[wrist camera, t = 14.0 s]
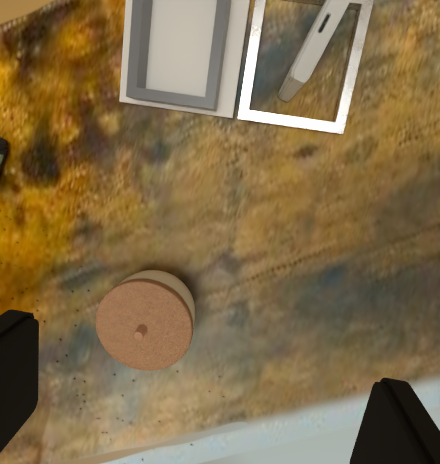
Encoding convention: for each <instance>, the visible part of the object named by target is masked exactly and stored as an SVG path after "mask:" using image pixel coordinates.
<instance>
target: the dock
mask: <svg viewBox="0 0 440 464" xmlns="http://www.w3.org/2000/svg"><path fill="white" fill-rule="evenodd" d="M249 6H250V0H126V7H125V22H124V38H123V53H122V69H121V84H120V100H119V101H120V102H123V103H130V104H136V105H143V106H150V107H157V108H164V109H171V110H178V111H184V112H191V113H198V114H205V115H212V116H219V117H225V118H232V119H233V115H234V108H235V101H236V94H237V87H238V81H239V74H240V67H241V60H242V53H243V46H244V40H245V33H246V26H247V19H248V12H249Z"/></svg>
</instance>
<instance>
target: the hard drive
mask: <svg viewBox="0 0 440 464" xmlns="http://www.w3.org/2000/svg"><path fill="white" fill-rule="evenodd" d="M350 1H351V0H326V1H325V3H324V5H323V7H322V8H321V10H320V12H319V14H318V16H317V18H316V19H315V21H314V23H313V25H312V27H311V29H310V31H309V33H308V34H307V36H306V38H305V40H304V42H303V44H302V46H301V48H300V50H299V52H298V54H297V56H296V58H295V60H294V62H293V64H292V66H291V68H290V70H289V72H288V74H287V76H286V78H285V80H284V82H283V84H282V86H281V88H280V90H279V92H278V98H280V99H281V100H284V101H285V102H288V101H290V99H291V98H292V97H293V96H294V95H295V94H296V93H297V92H298V90H299V89H300V88H301V87H302V86H303V85H304V84H305V82H306V81H307V80H308V79H309V78H310V76H311V74H312V72H313V71H314V69H315V67H316V65H317V63H318V61H319V59H320V57H321V56H322V54H323V52H324V50H325V48H326V46H327V44H328V42H329V40H330V38H331V37H332V35H333V33H334V31H335V29H336V27H337V25H338V23H339V22H340V20H341V18H342V16H343V14H344V12H345V10H346V8H347V7H348V5H349V3H350Z"/></svg>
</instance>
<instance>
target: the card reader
mask: <svg viewBox="0 0 440 464" xmlns="http://www.w3.org/2000/svg"><path fill="white" fill-rule="evenodd" d="M6 146H7V142H6V141H5V140H4V139H2V138H0V169H1V166H2V164H3V161H4V158H5V156H6V153H7V148H6Z"/></svg>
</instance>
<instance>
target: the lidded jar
mask: <svg viewBox="0 0 440 464" xmlns="http://www.w3.org/2000/svg"><path fill="white" fill-rule="evenodd" d="M194 325H195V305H194V301H193V297H192V295H191V293H190V291H189V290H188V288H187V287H186V285H185V284H184V283H183V282H182V281H181V280H180V279H178V278H177V277H176V276H174V275H172V274H170V273H168V272H164V271H159V270H145V271H141V272H138V273H135V274H132V275H131V276H129V277H127V278H125V279H124V280H122V281H121V282H120V283H119V284H118V285H116V286H115V287H113V288H112V289H111V290H110V291H109V292H108V293H107V294H106V295H105V296H104V297H103V299H102V300H101V302H100V304H99V306H98V309H97V313H96V329H97V333H98V336H99V339H100V341H101V343H102V345H103V346H104V348H105V349H106V350H107V352H108V353H109V354H110V355H111V356H112V357H114V358H115V359H116V360H117V361H119V362H121V363H122V364H124V365H126V366H129V367H131V368H134V369H138V370H145V371H148V370H159V369H163V368H166V367H169V366H171V365H173V364H174V363H176V362H177V361H178V360H179V359H180V358H181V357H182V356H183V355H184V354H185V353H186V351H187V350H188V347H189V345H190V343H191V339H192V335H193V329H194Z"/></svg>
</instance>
